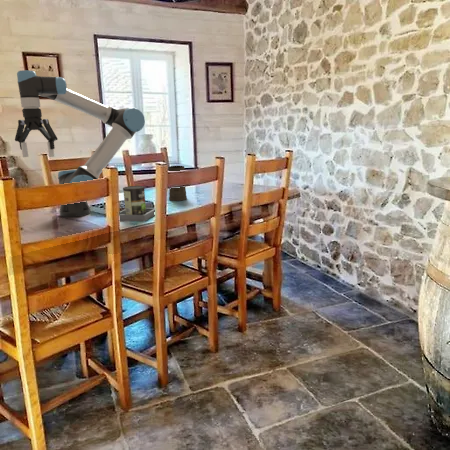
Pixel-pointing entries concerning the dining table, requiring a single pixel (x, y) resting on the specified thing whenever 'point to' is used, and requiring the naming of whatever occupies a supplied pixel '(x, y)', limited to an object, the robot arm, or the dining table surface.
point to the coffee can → (134, 200)
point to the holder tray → (137, 217)
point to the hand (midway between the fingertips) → (38, 156)
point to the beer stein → (177, 193)
